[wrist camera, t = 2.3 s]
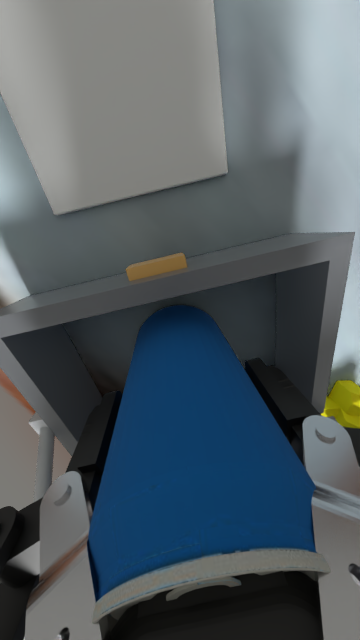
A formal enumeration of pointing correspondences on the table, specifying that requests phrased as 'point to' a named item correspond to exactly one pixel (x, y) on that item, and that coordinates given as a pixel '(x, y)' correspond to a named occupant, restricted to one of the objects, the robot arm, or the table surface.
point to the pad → (113, 95)
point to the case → (162, 283)
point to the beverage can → (195, 474)
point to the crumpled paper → (344, 404)
